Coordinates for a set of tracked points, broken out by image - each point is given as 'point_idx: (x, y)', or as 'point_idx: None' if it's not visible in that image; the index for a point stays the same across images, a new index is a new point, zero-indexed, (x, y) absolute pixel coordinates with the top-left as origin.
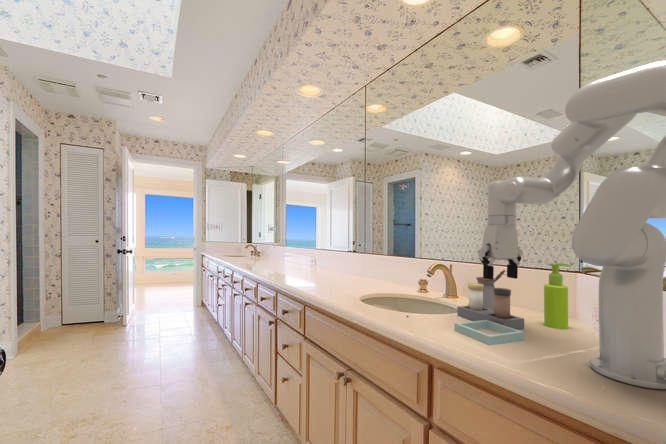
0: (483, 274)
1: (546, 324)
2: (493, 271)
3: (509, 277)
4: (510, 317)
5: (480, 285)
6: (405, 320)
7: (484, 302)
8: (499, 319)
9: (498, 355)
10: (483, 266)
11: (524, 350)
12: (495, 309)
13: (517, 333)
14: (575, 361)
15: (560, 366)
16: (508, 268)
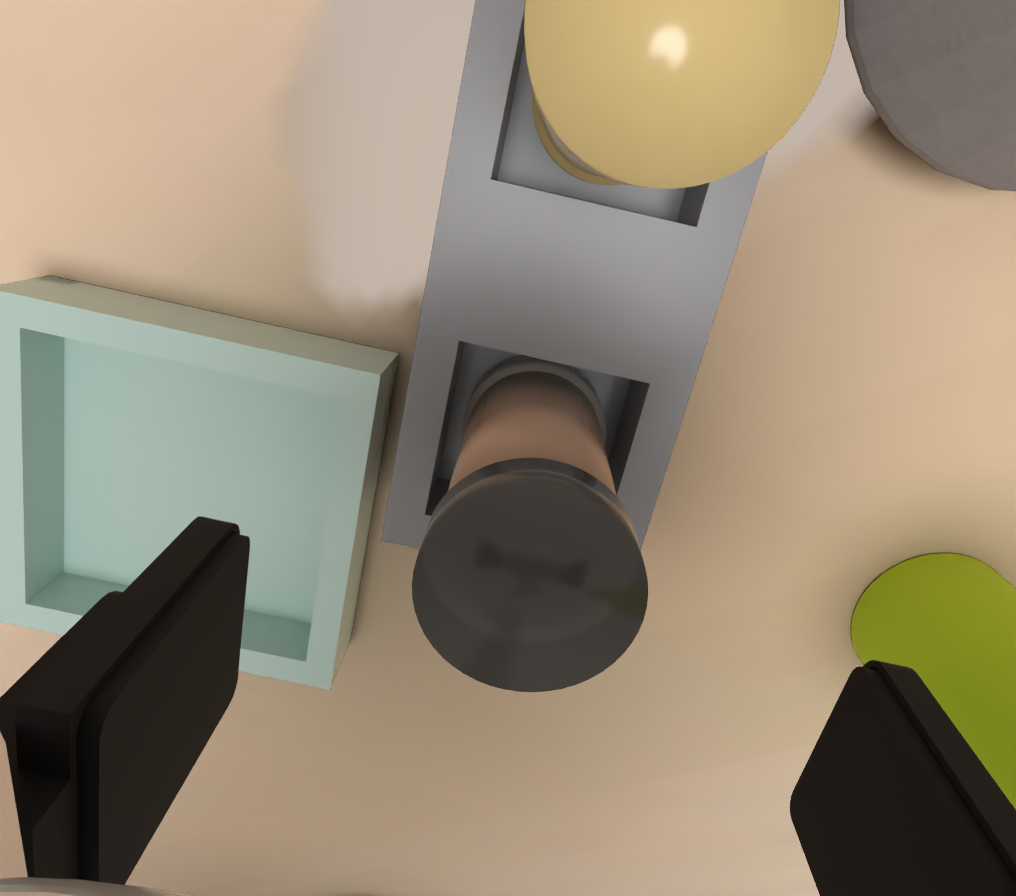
0: (170, 552)
1: (886, 604)
2: (164, 814)
3: (848, 697)
4: (619, 479)
5: (616, 175)
6: None
7: (931, 27)
8: (389, 497)
9: (20, 646)
10: (51, 671)
11: (237, 683)
12: (465, 440)
13: (259, 674)
14: (328, 854)
15: (193, 839)
16: (934, 844)
